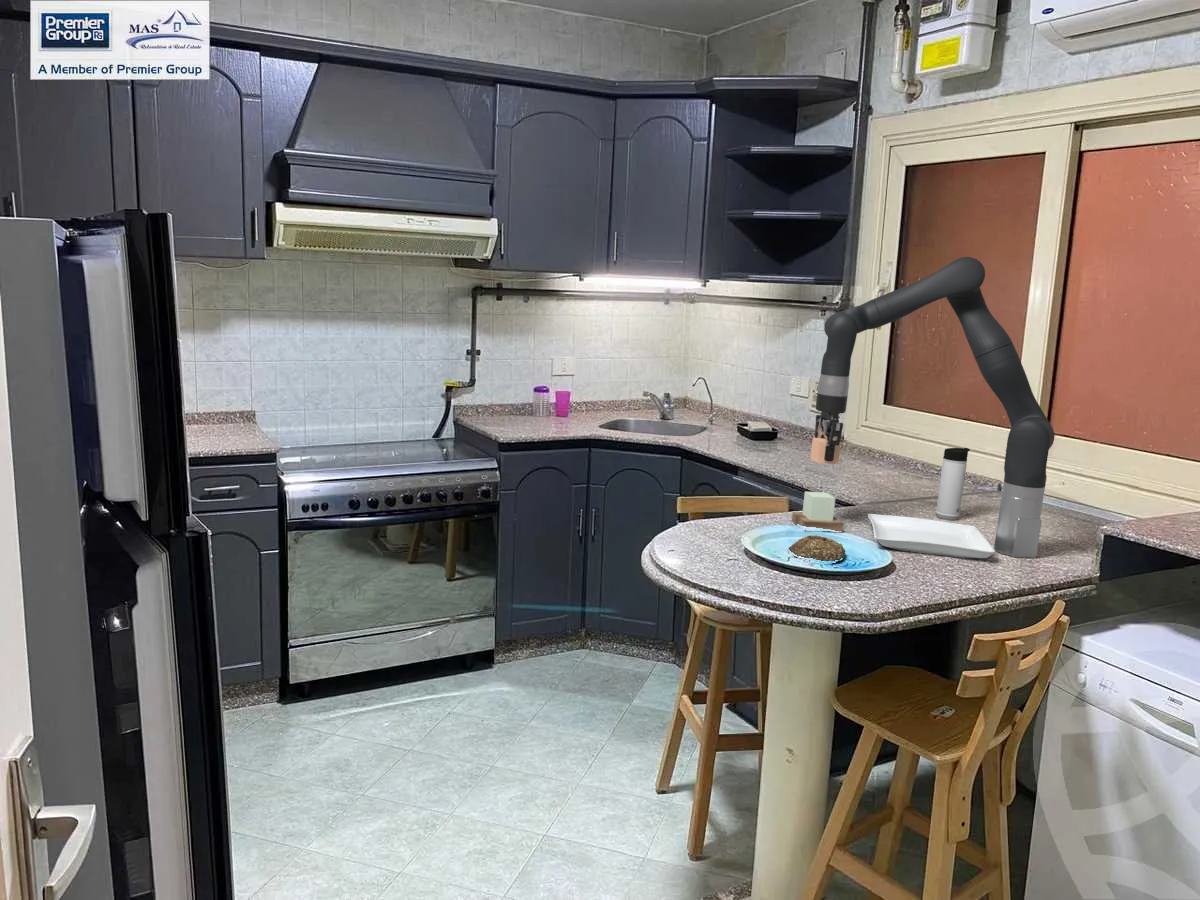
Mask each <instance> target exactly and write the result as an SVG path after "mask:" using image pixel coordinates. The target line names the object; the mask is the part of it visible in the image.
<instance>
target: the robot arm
mask: <svg viewBox="0 0 1200 900" xmlns="http://www.w3.org/2000/svg"><path fill="white" fill-rule="evenodd" d="M985 278H986V270H985V266H984V265H983V263H982V262H981V261H980V260H978V259H977V258H975V257H972V256H971V257H970V256H962V257H959V258H956V259H955V260H953V261H951V262H950V263H949V264H947V265H945V266H944V267H942V268H940V269H939V270H937V271H935V272H933V273H931V274H929V275H927V276H926V277H923V278H922V279H920V280H918V281H915V282H913V283H910V284H908V285H906V286H903V287H900V288H898V289H895V290H893V291H892V290H891V291H890V292H888V293H885V294H882V295H879V296H877V297H875V298H873V299H871V300H868V301H866V302H864V303H862V304H860V305H856V306H853V307H850V308H847V309H844V310H841V311H837V312H835V313H833V314H832V315H830V316H829V317H828V318H827V319H826V320H825V323H824V327H823V328H824V334H825V335H826V336H827V340H826V341H827V343H826V349H825V352H824V354H823V355H822V360H821V366H820V367H821V369H820V376H819V379H818V384H817V392H816V393H817V394H816V400H815V410H816V411H818V412H821V413H820V414H816V416H815V426H814V427H815V429H814V438H825V439H826V448H825V456H824V460H825V461H833V459H834V451H835V447H836V446H837V445H839V444H840V443H841V439H842V432H843V428H844V422H840V417H839V414H844V413H846V411H847V405H848V395H849V387H850V371H851V361H852V355H853V352H854V348H855V344H856V341H857V335H858V334H860V333H863V332H864V331H868V330H875V329H878V328H881V327H883V326H886V325H888V324H891V323H893V322H896V321H897V320H899V319H902V318H903V317H904V318H905V317H906V316H908V315H910V314H911V313H913V312H915V311H917V310H919V309H921V308H923V307H925V306H927V305H929V304H931V303H933V302H936V301H938V300H941V299H943V298H946V299H947V301H948V303H949V305H950V307H951V308H952V310H953V311H954V313H955V315H956V316H957V318H958V321H959V322H960V324H961V327H962V330H963V332H964V336H965V337H966V340H967V343H968V345H969V348H970V349H971V352H972V355H973V357H974V360H975V362H976V364H977V367H978V369H979V371H980V374H981V376H982V377H983V379H984V381H985V382H986V384H987V385H988V387H990V389H991V390H992V392H993V393H994V394H995V396H996V398H998V400H999V401H1000V402H1001V404H1002V406H1003V408H1004V411H1005V412H1006V415H1007V418H1008V421H1009V423H1010V426H1011V428H1010V431H1009V433H1008V436H1007V442H1006V449H1005V456H1004V457H1005V458H1004V463H1003V464H1004V466H1003V471H1004V478H1003V484H1002V491H1001V498H1000V505H999V512H998V518H997V526H996V531H995V532H996V533H995V538H994V539H995V540H994V545H993V549H994V550H995V552H998V553H1000V554H1004V555H1007V556H1011V558H1012V557H1013V558H1034V559H1035V558H1037V554H1038V547H1039V540H1040V535H1041V530H1042V519H1041V515H1042V508H1043V503H1044V496H1045V490H1046V484H1047V463H1048V456H1049V451H1050V449H1051V448H1052V446H1053V445H1054V441H1055V431H1054V428H1053V426H1052V424H1051V423H1050V421H1049V420H1048V418H1047V416H1046V415H1045V413H1044V412H1043V410H1042V408H1041V406H1040V405H1039V403H1038V401H1037V399H1036V397H1035V394H1034V393H1033V391H1032V387H1031V384H1030V381H1029V380H1028V379H1029V378H1028V376H1027V374H1026V372H1025V369H1024V366H1023V364H1022V363H1023V362H1022V361H1021V358H1020V356H1019V354H1018V351H1017V350H1016V349H1017V348H1016V347H1015V345H1014V343H1013V341H1012V339H1011V337H1010V335H1009V334H1008V333H1007V332H1006V330H1005V328H1004V327H1003V326H1002V325H1001V324H1000V322H998V320H996V318H995V317H994V316H993V314H992V313H991V312H990V309H989V308H988V306H987V304H986V301H985V298H984V296H983V293H982V289H981V286H983V283H984V281H985Z"/></svg>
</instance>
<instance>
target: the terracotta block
mask: <svg viewBox="0 0 1200 900" xmlns="http://www.w3.org/2000/svg"><path fill="white" fill-rule="evenodd" d="M841 444H842V443H841V442H840V444H839V445H837V446H836V447H835V451H834V459H833V461H825V460H824V456H825V448H826V439H825V438H815V437H812V442H811V450H810V457H809V458H810V460H811V461H813V462H815V463H816V464H827V465H828V464H830V465H839V461H840V460H839V459H840V453H841V452H840V451H841Z"/></svg>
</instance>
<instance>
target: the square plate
mask: <svg viewBox="0 0 1200 900" xmlns="http://www.w3.org/2000/svg"><path fill="white" fill-rule="evenodd" d="M867 518H868V520H869V521H870V522H871V525H872V530H873V536H874V538H875V539H876V540H877V541H878V543H879V544H880V545H882V546H883V547H886V548H891V549H894V550H896V551H897V550H898V551H903V552H909V551H910V552H911V553H919V554H927V555H935V556H936V555H937V556H945V557H951V558H962V559H974V558H975V559H986V558H989V557H990V556H993V555H994V554H996V551H995V550H994V546H993V545H991V543H990V542H989V541H988V539H987V538H986V537H985V536H984V535H983V533H982V532H981V531H980V530H979V529H978V528H977V527H976V526H973V525H970V524H969V525H967V524H961V523H960V524H959V523H954V522H947V521H941V520H935V519H927V518H920V517H912V516H911V517H909V516H901V515H888V514H887V515H886V514H877V513H876V514H875V513H874V514H873V513H868V514H867Z"/></svg>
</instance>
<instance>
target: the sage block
mask: <svg viewBox="0 0 1200 900" xmlns="http://www.w3.org/2000/svg"><path fill="white" fill-rule="evenodd" d="M835 504H836V497H835V496H833V495H832V494H830V493H829V492H825V491H824V492H822V491H821V492H819V491H804V496H803V504H802V505H803V506H802V512H803V513H802V514H803V515H804V516H806V517H807V518H808V519H810V520H825V521H833V516H834V514H835V513H834V512H835V506H836V505H835Z"/></svg>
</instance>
